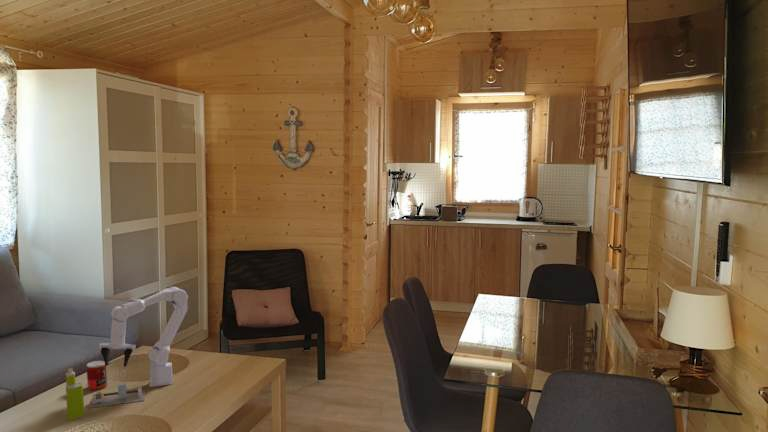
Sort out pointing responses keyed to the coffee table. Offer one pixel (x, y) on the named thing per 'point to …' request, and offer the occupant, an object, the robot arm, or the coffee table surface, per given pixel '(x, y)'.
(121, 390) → the sleeve
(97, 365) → the canned food
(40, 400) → the coffee table surface
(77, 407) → the vape
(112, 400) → the linear slide rail
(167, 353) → the robot arm
